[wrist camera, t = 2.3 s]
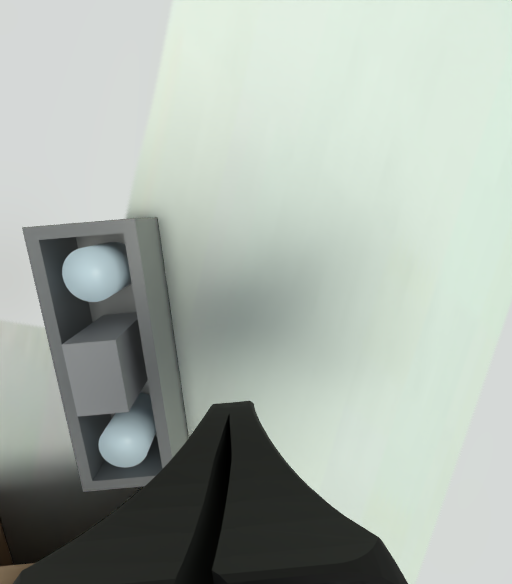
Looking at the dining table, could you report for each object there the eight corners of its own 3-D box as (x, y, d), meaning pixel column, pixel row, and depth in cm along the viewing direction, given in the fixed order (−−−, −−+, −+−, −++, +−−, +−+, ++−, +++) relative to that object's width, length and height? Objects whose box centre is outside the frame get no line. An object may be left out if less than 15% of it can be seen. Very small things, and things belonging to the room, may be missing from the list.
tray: (111, 443, 22) (71, 510, 17) (67, 224, 19) (3, 228, 14) (188, 436, 22) (171, 501, 17) (157, 217, 19) (125, 218, 14)
